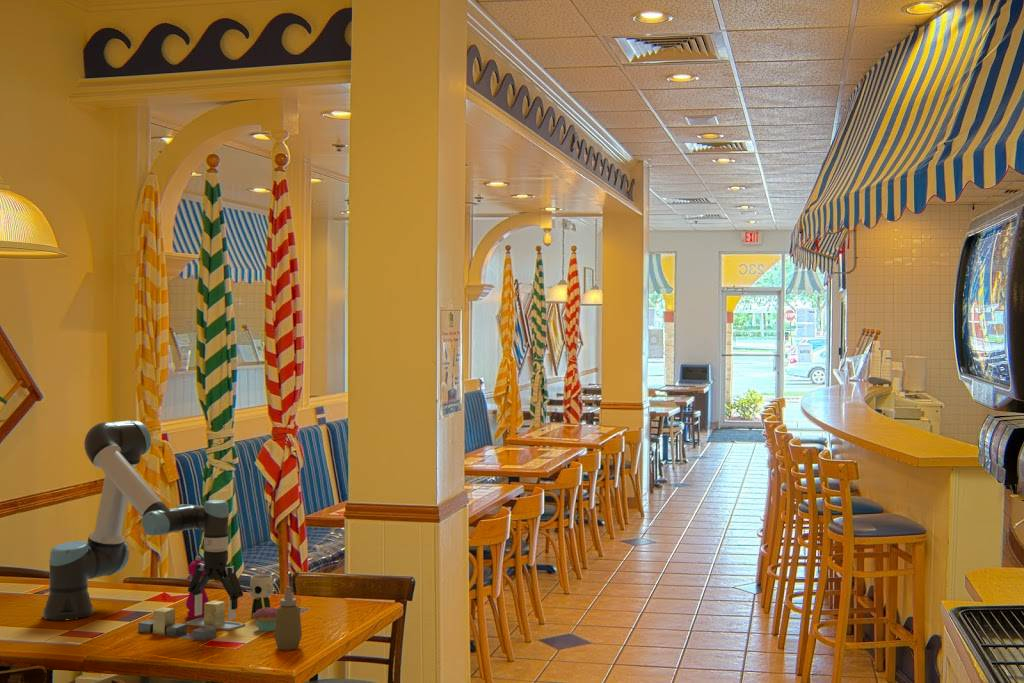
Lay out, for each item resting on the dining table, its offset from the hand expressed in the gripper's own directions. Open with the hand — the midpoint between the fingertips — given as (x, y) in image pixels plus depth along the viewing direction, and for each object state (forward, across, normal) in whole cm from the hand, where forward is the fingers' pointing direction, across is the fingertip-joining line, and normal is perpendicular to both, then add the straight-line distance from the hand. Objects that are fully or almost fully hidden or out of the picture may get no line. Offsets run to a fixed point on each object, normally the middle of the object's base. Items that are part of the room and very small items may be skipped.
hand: (214, 617), depth 337 cm
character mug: (+3, +5, +17) cm, 18 cm away
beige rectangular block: (+2, 0, 0) cm, 2 cm away
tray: (+3, 0, 0) cm, 3 cm away
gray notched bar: (+3, -3, -14) cm, 15 cm away
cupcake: (+3, +18, +3) cm, 18 cm away
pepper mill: (+3, -13, +7) cm, 15 cm away
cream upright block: (+2, -8, -14) cm, 16 cm away
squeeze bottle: (+3, +36, -11) cm, 38 cm away
